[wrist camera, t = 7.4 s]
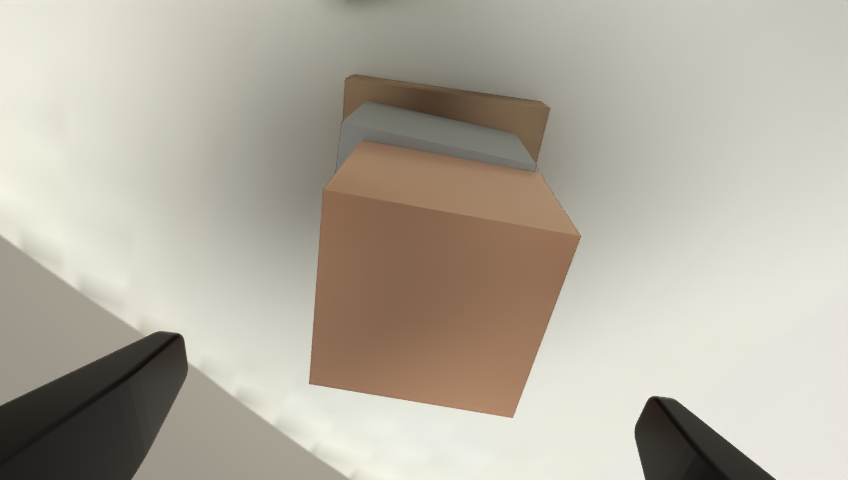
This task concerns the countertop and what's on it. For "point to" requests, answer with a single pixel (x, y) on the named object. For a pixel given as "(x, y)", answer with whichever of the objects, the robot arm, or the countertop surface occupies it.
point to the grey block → (430, 136)
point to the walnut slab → (453, 106)
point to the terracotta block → (436, 278)
